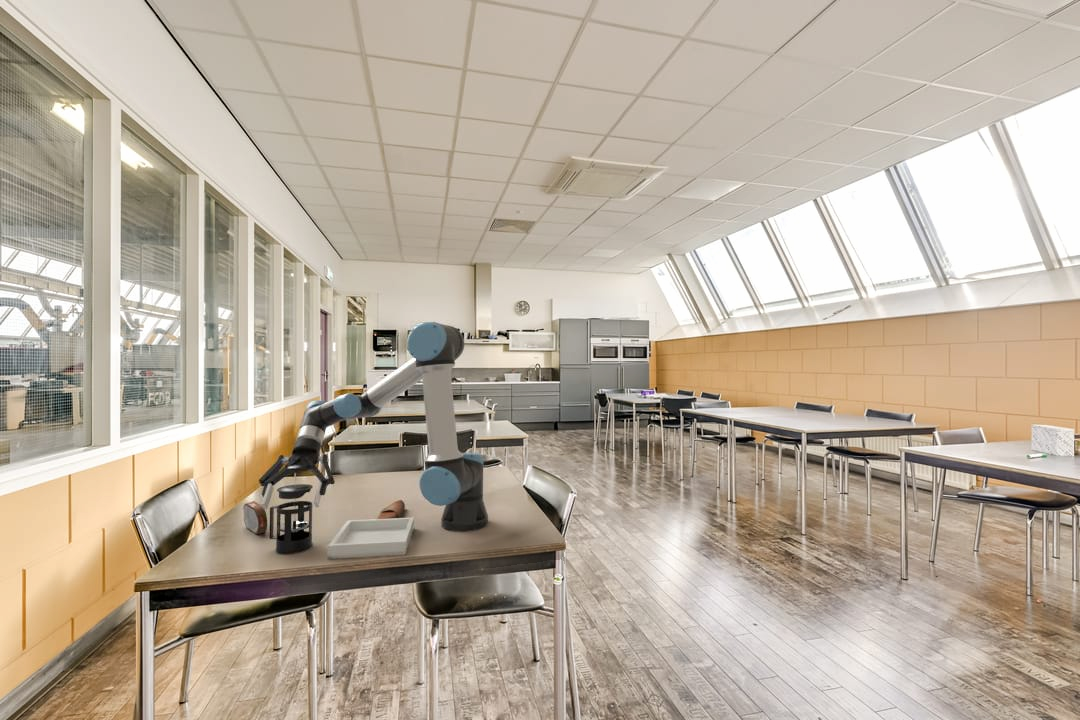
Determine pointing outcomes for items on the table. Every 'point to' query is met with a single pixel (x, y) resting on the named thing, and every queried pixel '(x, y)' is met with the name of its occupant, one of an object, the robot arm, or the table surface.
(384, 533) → the tray
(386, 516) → the sunglasses case
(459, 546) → the table surface
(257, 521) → the tin
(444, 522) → the robot arm
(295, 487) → the french press
